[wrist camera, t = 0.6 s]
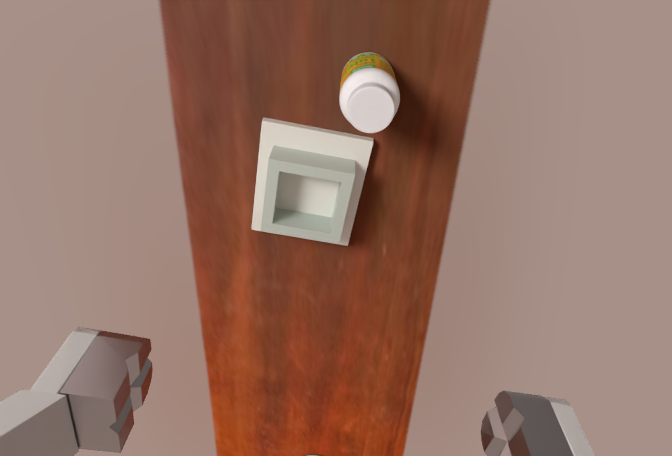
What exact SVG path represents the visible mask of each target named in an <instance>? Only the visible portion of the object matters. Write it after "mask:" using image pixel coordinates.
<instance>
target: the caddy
mask: <svg viewBox="0 0 672 456" xmlns="http://www.w3.org/2000/svg"><path fill="white" fill-rule="evenodd" d="M373 142H374V141H373V138H370V137H365V136H359V135H354V134H349V133H344V132H338V131H333V130H328V129H322V128H317V127H312V126H307V125H301V124H296V123H291V122H286V121H280V120H275V119H270V118H263V120H262V127H261V137H260V147H259V157H258V168H257V178H256V188H255V198H254V209H253V219H252V230H258V231H263V232H269V233H275V234H281V235H287V236H293V237H299V238H305V239H311V240H316V241H322V242H328V243H334V244H340V245H346V246H348V243H349V239H350V235H351V231H352V227H353V223H354V219H355V214H356V210H357V206H358V202H359V198H360V194H361V190H362V186H363V182H364V178H365V174H366V170H367V166H368V162H369V158H370V154H371V150H372V146H373Z"/></svg>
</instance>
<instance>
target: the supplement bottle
mask: <svg viewBox="0 0 672 456" xmlns="http://www.w3.org/2000/svg"><path fill="white" fill-rule="evenodd" d="M339 99H340V107H341V110H342V113H343V115H344V116H345V118H346V119H347V120H348V121H349V122H350V123H351V124H352V125H353V126H354V127H355V128H356V129H358V130H360V131H362V132H365V133H376V132H379V131H381V130H383V129H385V128H386V127H387V126H388V125H389V124H390V123H391V121H392V119H393V117H394V116H395V114H396V112H397V110H398V107H399V103H400V92H399V88H398V84H397V81H396V78H395V74H394V71H393V69H392V67H391V65H390V63H389V62H388V61H387V60H386V59H385V58H384V57H382V56H381V55H379V54H376V53H370V52H367V53H361V54H358V55H356V56H354V57H353V58H352V59H350V60H349V61H348V63H347V64H346V65H345V67H344V69H343V72H342V76H341V85H340V98H339Z"/></svg>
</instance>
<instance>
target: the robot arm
mask: <svg viewBox="0 0 672 456" xmlns="http://www.w3.org/2000/svg"><path fill="white" fill-rule="evenodd" d="M150 351H151V342H150V339H147V338H141V337H136V336H130V335H124V334H118V333H112V332H107V331H101V330H94V329H88V328H81V327H78V328H77V329H75V330H74V331H73V332H71V334H70V335H69V337H68V338H67V339H66V341H65V342H64V344H63V345H62V346H61V348H60V349H59V350H58V352H57V353H56V355H55V356H54V357H53V359H52V360H51V362H50V363H49V364H48V366H47V367H46V369H45V370H44V371H43V373H42V374H41V375H40V377H39V378H38V380H37V381H36V383H35V384H34V385H33V387H32V388H31V389H30V390H27V389H22V390H20V391H18V392H17V393H15V394H13V395H11V396H10V397H8V398H6V399H4V400H3V401H1V402H0V456H74V455H75V454H76V453H77V452H78V451H79V450H78V449H88V450H98V451H109V452H118V453H121V451H122V449H123V446H124V444H125V442H126V440H127V438H128V435H129V433H130V431H131V429H132V427H133V425H134V419H133V411H135V410H136V409H138V408H139V407H140V406H141V405H143V402H144V400H145V398H146V395H147V393H148V389H149V386H150V382H151V377H152V362H151V361H150V360H149V359H148V358H147V357H148V355H149V353H150ZM495 404H496V407H495V408H493V409H491V410H489V411H487V413H486V415H485V417H484V419H483V421H482V427H481V439H482V445H483V449H484V452H485V453H486V455H487V456H595V455H594V452H593V450H592V448H591V446H590V444H589V442H588V440H587V438H586V436H585V434H584V432H583V430H582V428H581V426H580V423H579V421H578V419H577V417H576V415H575V413H574V411H573V409H572V407H571V405H570V404H569V403H568V402H567V401H566V400H563V399H556V398H550V397H543V396H539V395H531V394H524V393H517V392H509V391H502V392H500V393H499V394H498V395H497V397H496V398H495Z"/></svg>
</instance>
